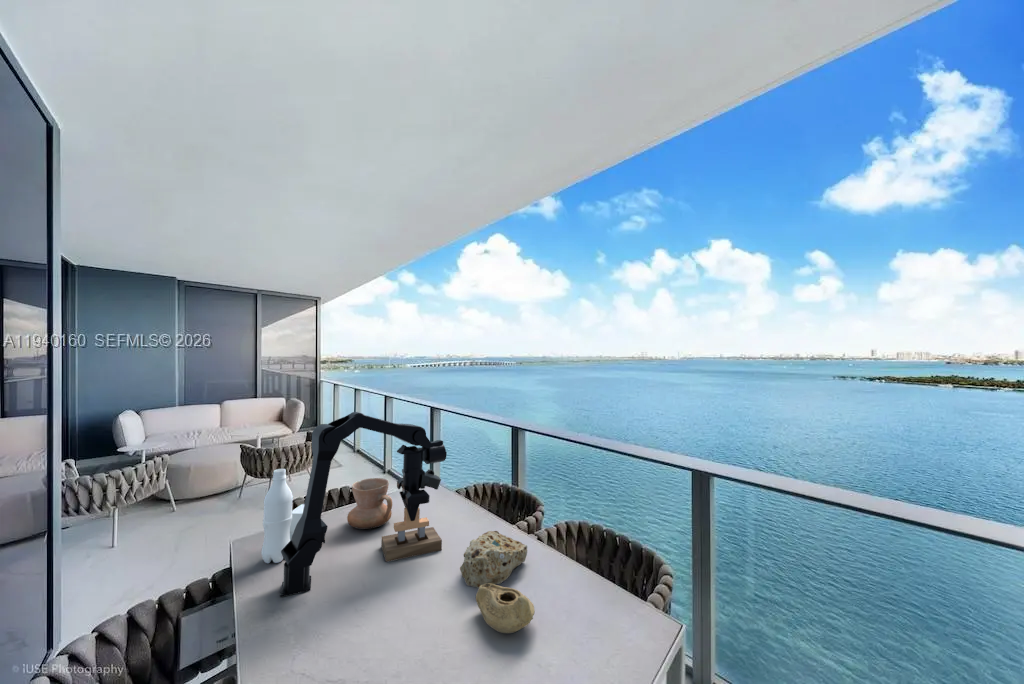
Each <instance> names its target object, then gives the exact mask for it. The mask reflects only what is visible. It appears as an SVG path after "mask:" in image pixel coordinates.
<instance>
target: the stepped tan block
mask: <svg viewBox="0 0 1024 684" xmlns="http://www.w3.org/2000/svg"><path fill="white" fill-rule="evenodd" d="M420 511H421V510H420V507H419V508H418V511H417V514H416V518H415V520H414V521H411V520H410V517H409V514H408V511H407V508H405V507H404V510H403V521H398V522H393V529H394V532H395V533H397V534H398V537H397V538H398V540H399V542H400V541H405V532H406V531H411V530H414V529H415V530H416V529H417V530H418V531H417V534H418V536H419V538H421V537H425V528H427V527H429V526H430V519H428V517H422V518H420V514H421V513H420Z"/></svg>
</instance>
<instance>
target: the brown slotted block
mask: <svg viewBox="0 0 1024 684" xmlns="http://www.w3.org/2000/svg"><path fill="white" fill-rule="evenodd" d="M417 531H418V529H415V530H414V529H413V530H408V531H405V541H400V542H399V540H398V538H397V537H398V533H393V534H388V535H382V536H381V544H380V545H381V550H382V553H383V556H384V559H385V562H386V563H388V562H393V561H397V560H402V559H407V558H411V557H416V556H421V555H424V554H425V555H426V554H430V553H435V552H440V551H442V550H443V549H442V547H443V543H442V542H443V540H442V538H441V536H440V535H439V534H438V532H437V530H436V529H435V527H434V526H430V527H425V537H421V538H419V536H418V534H417Z"/></svg>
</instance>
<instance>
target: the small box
mask: <svg viewBox="0 0 1024 684" xmlns="http://www.w3.org/2000/svg"><path fill="white" fill-rule="evenodd" d="M304 504H305V503H302V504H300V505H299V506H297V507H296V508H294V509H292V521H291V525H290V540H291V538H292V535H293V533H294V530H295V527H296V525H297V523H298V521H299V520H300V518H301V516H302V514H303V510H304Z"/></svg>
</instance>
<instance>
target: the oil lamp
mask: <svg viewBox="0 0 1024 684" xmlns="http://www.w3.org/2000/svg"><path fill="white" fill-rule="evenodd" d="M477 589H478V590H477V592H476V595H475V602H476V604H477V607H478V609H479V610H480V613H481V616H482V617H483V620H484V622H485V623H486V624H487V625H488V626H489V627H491V628H492V629H493V630H494V631H497V632H498V633H499V634H500V633H501V634H512V633H516V632H518V631H519V630H522V629H523V628H525V627H526V626H528V625H529V624H530V623H531V622H532V620H533V619H534V615H535V611H536V610H535V605H534V603H533V602H532V601H531V600H530V599H529V598H528V597H527V596H526V595H524V594H523V593H522V592H521V591H520V590H518V589H516V588H512V587H506V586H505V587H504V586H501V585H499V584H491V583H488V584H483V585H481V586H480V587H479V588H477Z"/></svg>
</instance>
